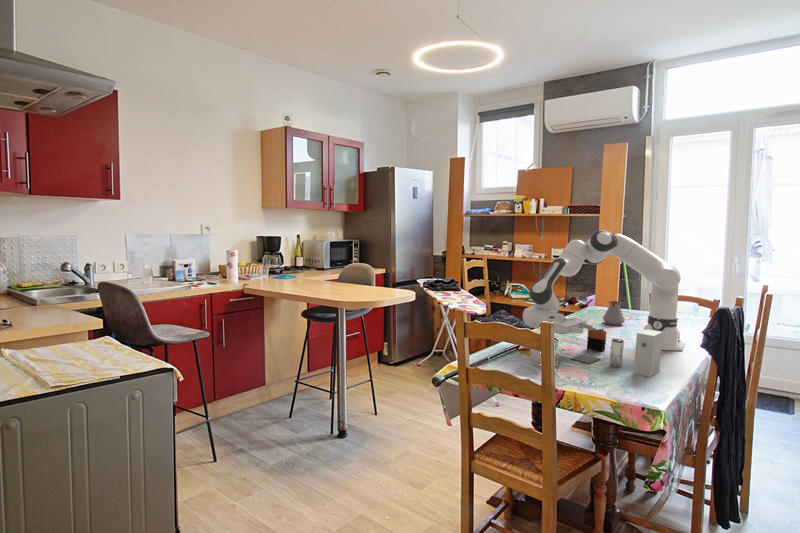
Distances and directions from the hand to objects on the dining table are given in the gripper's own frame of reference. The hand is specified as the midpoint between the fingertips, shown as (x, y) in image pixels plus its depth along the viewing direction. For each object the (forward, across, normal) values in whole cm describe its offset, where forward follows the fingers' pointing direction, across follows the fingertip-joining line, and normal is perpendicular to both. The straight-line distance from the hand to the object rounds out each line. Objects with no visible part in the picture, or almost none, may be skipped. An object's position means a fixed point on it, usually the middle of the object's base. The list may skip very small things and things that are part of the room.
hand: (587, 329), depth 196 cm
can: (+13, +1, -12) cm, 18 cm away
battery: (-3, -17, -13) cm, 22 cm away
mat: (+1, +2, -13) cm, 13 cm away
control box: (+24, -1, -12) cm, 27 cm away
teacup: (-8, +22, -13) cm, 26 cm away
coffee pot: (-18, -76, -13) cm, 79 cm away
